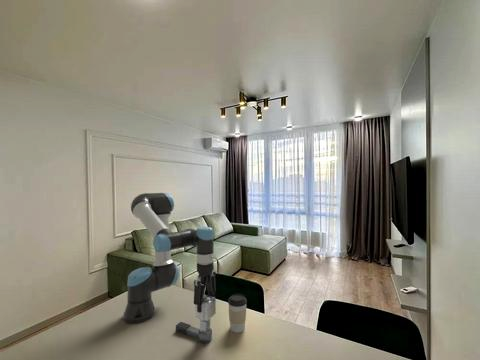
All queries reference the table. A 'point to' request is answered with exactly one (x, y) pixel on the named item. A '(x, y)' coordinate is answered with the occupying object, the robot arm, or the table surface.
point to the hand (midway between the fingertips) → (205, 314)
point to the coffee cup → (237, 312)
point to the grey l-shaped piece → (196, 331)
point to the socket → (207, 307)
